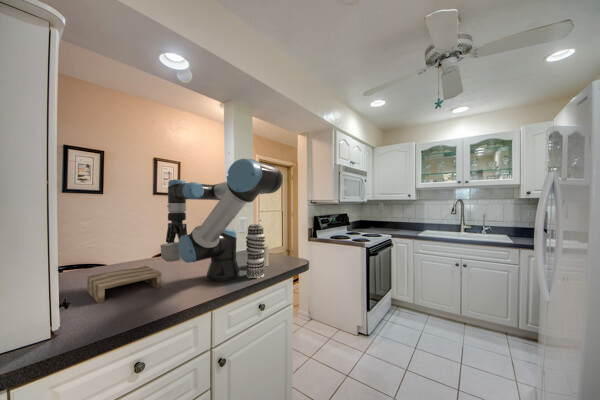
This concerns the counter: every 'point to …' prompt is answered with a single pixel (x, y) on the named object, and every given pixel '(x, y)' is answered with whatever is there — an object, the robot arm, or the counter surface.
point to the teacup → (170, 252)
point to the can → (265, 255)
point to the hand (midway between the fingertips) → (176, 258)
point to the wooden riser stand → (121, 280)
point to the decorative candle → (255, 251)
